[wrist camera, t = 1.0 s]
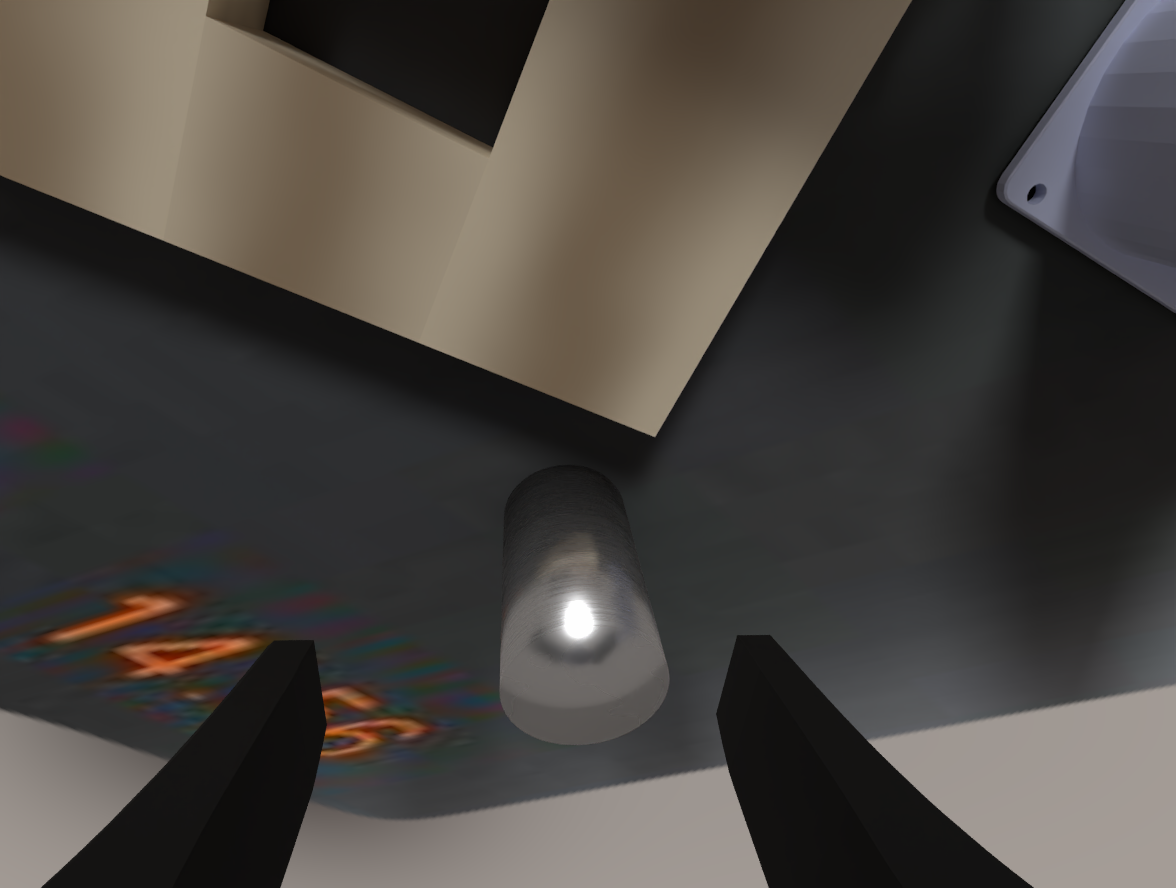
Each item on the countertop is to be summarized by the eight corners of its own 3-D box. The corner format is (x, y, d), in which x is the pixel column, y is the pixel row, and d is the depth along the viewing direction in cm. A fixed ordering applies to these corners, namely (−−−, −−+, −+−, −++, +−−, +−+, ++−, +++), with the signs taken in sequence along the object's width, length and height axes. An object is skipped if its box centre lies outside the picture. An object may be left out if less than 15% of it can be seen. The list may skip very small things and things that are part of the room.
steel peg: (646, 489, 21) (700, 652, 15) (591, 578, 22) (621, 758, 16) (534, 447, 20) (542, 606, 14) (485, 544, 21) (473, 724, 15)
